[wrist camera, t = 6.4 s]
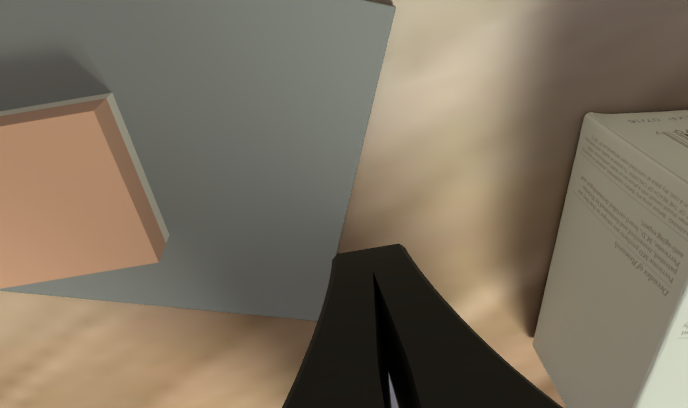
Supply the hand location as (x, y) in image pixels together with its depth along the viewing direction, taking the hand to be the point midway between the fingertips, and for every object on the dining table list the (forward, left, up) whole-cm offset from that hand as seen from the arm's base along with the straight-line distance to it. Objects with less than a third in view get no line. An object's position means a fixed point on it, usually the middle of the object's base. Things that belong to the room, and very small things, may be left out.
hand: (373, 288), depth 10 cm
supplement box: (+3, -13, -6) cm, 14 cm away
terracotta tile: (-3, +7, -9) cm, 11 cm away
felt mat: (-3, +6, -10) cm, 12 cm away
